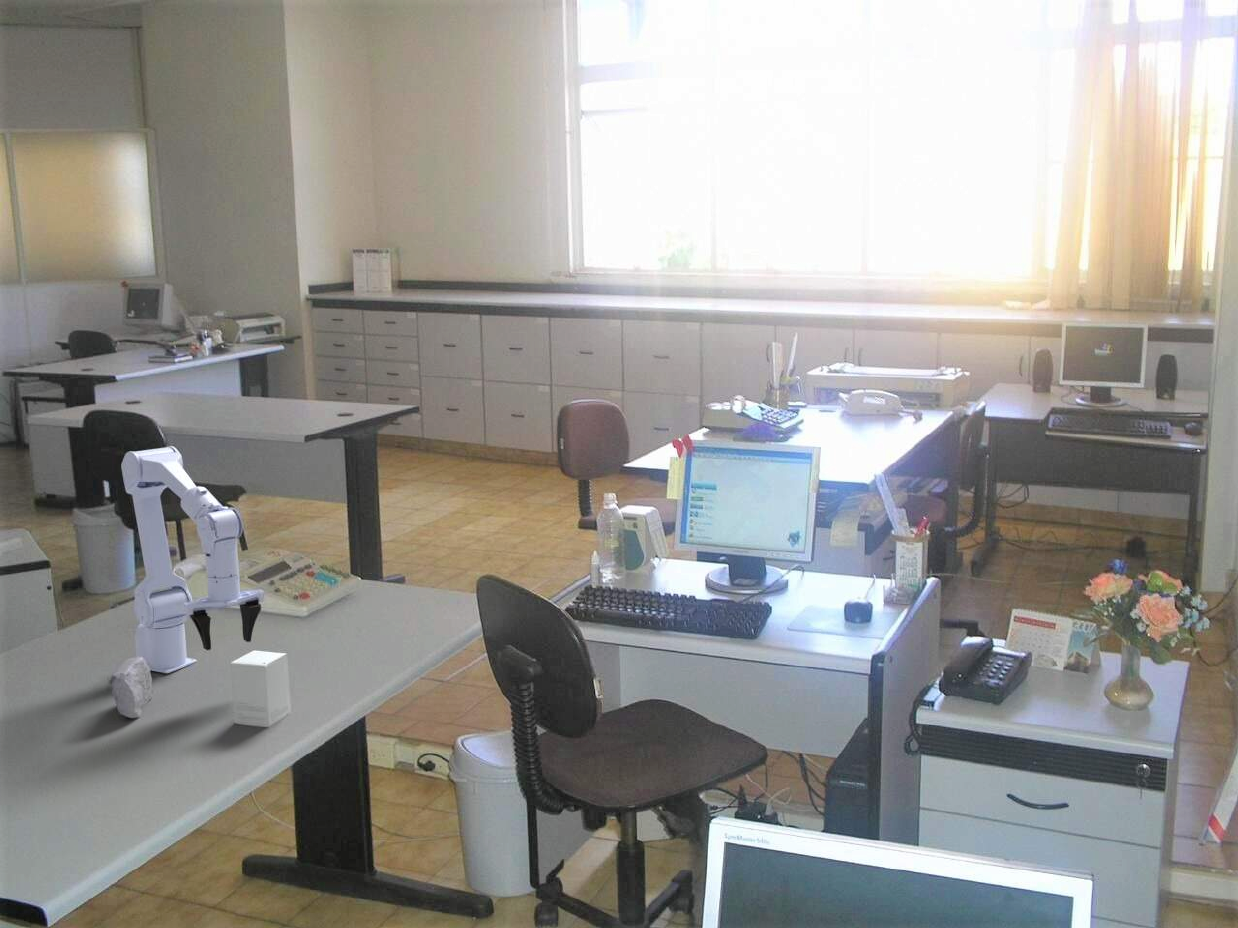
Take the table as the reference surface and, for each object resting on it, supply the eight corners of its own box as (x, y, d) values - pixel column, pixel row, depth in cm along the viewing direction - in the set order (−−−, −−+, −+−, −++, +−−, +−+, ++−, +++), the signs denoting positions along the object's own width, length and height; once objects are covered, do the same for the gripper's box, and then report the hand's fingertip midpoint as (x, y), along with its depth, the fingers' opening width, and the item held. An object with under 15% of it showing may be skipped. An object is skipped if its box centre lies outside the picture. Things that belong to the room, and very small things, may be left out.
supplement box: (293, 719, 228) (289, 652, 226) (269, 734, 221) (264, 665, 219) (258, 715, 230) (254, 649, 228) (233, 729, 224) (229, 661, 221)
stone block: (129, 704, 237) (124, 653, 235) (155, 703, 237) (151, 652, 235) (109, 728, 225) (104, 675, 223) (137, 727, 225) (132, 673, 224)
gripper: (191, 585, 225) (196, 657, 228) (268, 572, 234) (272, 642, 236) (178, 577, 231) (183, 648, 233) (254, 564, 240) (258, 633, 242)
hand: (227, 644), depth 235 cm, fingers open, 7 cm apart
